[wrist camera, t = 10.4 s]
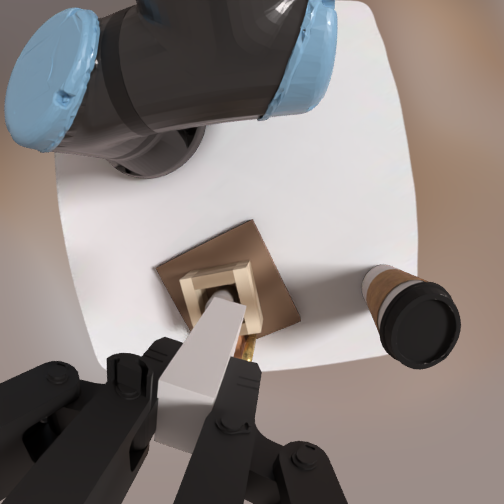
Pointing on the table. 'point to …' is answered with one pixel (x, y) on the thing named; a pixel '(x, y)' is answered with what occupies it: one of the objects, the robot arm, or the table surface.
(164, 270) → the base
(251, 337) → the dowel
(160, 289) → the table surface
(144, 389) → the robot arm
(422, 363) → the coffee cup
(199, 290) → the hollow square frame
